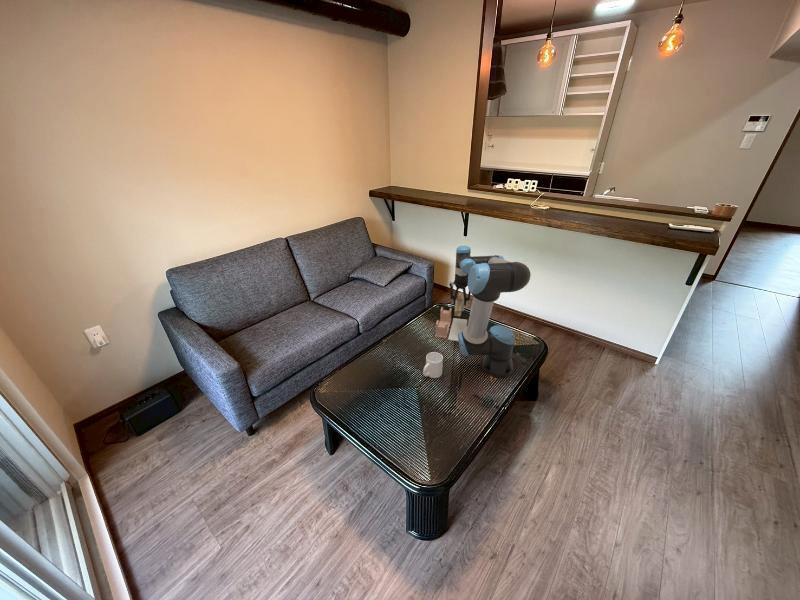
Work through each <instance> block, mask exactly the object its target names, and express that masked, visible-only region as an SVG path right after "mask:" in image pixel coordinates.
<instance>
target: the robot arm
mask: <svg viewBox="0 0 800 600" xmlns="http://www.w3.org/2000/svg"><path fill="white" fill-rule="evenodd" d="M454 273H455V274H454V280H453V282H452V281H450V282H449V288H450V290H449V291H450V299H451V300H453V305H454V308H455V307H456V303H457V299H458V294H459V290H460V289H461V290H462V293H463V295H464V299H463V306H462V312H464V310H465V306H466V305H467V302H469V301H470V298H471V296H472V302H471V306H470V311H469V312H470V313H469V316H468V320H467V325H466V327H465V328H464V330H463V332H459V333H458V340H459V341H458V345H459V352H460V354H461V355H462V356H469V357H471V356H484V358H483V359H482V363H481V368H482V370H483V371H484V373H486V374H487V375H489V376H490V377H493V378H498V379H502V378H503V379H505V378H508V377H510V376H511V375H512V374H513V372H514V371H513V370H514V364H513V360H512V357H513V349H514V345H515V333H514V332H513V330H511V329H510V328H508V327H507V326H505V325H504V326H503V325H498V324H497V325H493V326H491V327H490V328H489V330H487V328H488V325H489V321H490V317H491V315H492V310H493V306H494V303H495V302H496V301H497V300H498V299H499V298H500V297H501V294H502V293H514V292H518V291H521V290H522V289H524V288H525V287H526V286H527V285H528V284H529V283H530V280H531V275H532V274H531V271H530V268H529V266H527V265H526V264H525V263H522V262H521V261H520V262H519V261H509V260H506V259H505V258H504V256H503V255H499V254H497V255H496V254H495V255H479V256H478V255H477V256H476V255H475V256H474V255H473V256H472V255H471V247H470V246H468V245H459V246H457V248H456V251H455V268H454ZM454 286H455V287H456V289H455V292H454ZM466 288H468V289H466ZM467 290H468V292H466V291H467ZM467 293H468V295H467Z"/></svg>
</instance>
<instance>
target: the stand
mask: <svg viewBox="0 0 800 600" xmlns="http://www.w3.org/2000/svg"><path fill="white" fill-rule="evenodd" d="M439 315H440V316H439V317H440V318H439V319H438V320H436V323H435V334H434V336H435V338H442V339H448V336H449V332H450V328H451V325H452V321H453V318H452V308H451V307H449V310H446V309H444V307H443V306H441V307H440V314H439ZM449 327H450V328H449Z"/></svg>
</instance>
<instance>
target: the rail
mask: <svg viewBox="0 0 800 600" xmlns="http://www.w3.org/2000/svg"><path fill="white" fill-rule="evenodd" d="M463 299H464V295H463V292H458V294H457V303H456V307H455V306H454V314H453V315H454V317H461V315H462V312H463V311H462V306H463Z"/></svg>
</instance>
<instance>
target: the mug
mask: <svg viewBox="0 0 800 600" xmlns="http://www.w3.org/2000/svg"><path fill="white" fill-rule="evenodd" d="M443 361H444V356H443V354H441V353H440V352H436V351H432V352H428V353H426V357H425V365H424V366H423V371H422V374H423V376H424V377H429V378H431V379H439V378H440V377H441V376H442V374H443V369H444V368H443V363H444V362H443Z"/></svg>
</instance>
